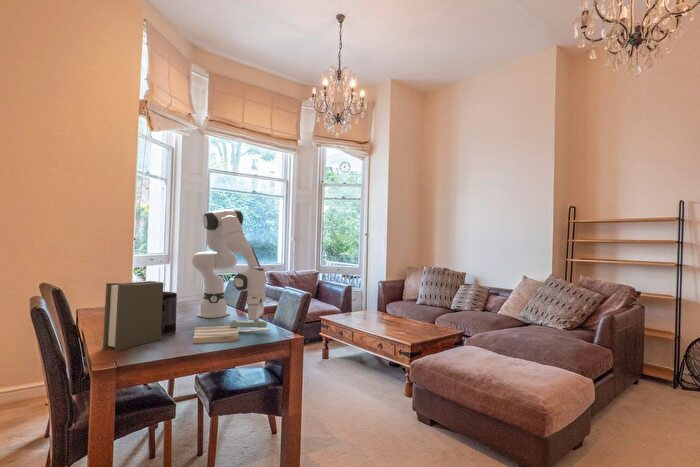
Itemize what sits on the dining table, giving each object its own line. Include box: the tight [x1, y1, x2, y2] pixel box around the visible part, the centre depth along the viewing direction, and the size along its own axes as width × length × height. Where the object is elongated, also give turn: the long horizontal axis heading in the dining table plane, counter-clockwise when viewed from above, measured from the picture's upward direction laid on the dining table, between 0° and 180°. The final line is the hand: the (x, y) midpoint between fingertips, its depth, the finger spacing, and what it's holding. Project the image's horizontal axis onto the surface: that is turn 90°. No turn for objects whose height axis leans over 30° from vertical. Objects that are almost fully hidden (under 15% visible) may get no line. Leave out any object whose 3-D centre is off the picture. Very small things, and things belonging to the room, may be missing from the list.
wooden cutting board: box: [192, 325, 271, 344], centre depth 188 cm, size 20×36×2 cm, turn 109°
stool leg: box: [229, 319, 268, 328], centre depth 196 cm, size 18×3×3 cm, turn 91°
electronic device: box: [161, 291, 178, 336], centre depth 190 cm, size 9×6×20 cm, turn 62°
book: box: [102, 280, 164, 353], centre depth 171 cm, size 22×9×28 cm, turn 154°
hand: (256, 325), depth 193 cm, fingers closed
